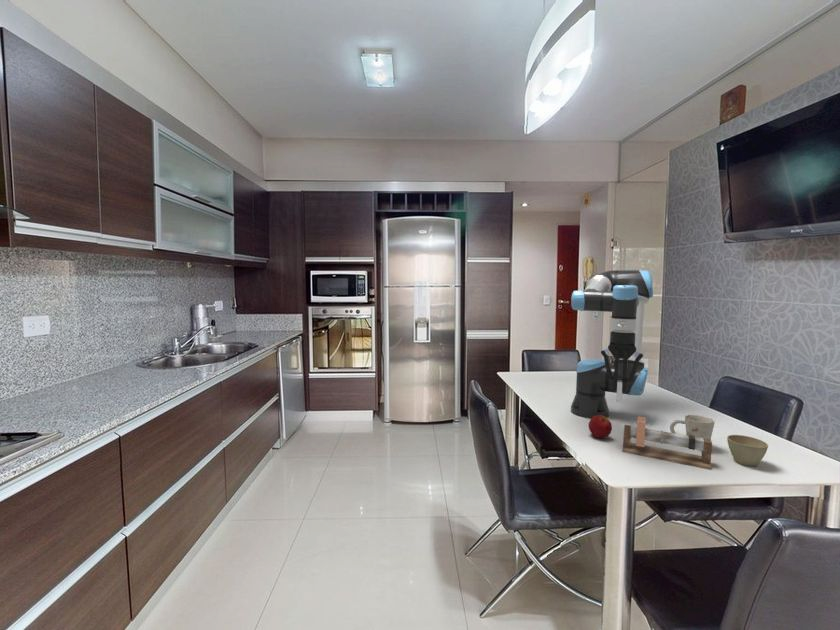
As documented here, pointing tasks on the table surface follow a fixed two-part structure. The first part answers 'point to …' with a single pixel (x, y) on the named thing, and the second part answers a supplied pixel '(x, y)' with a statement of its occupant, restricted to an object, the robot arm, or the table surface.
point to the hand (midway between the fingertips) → (619, 400)
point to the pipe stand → (670, 439)
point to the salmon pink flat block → (640, 431)
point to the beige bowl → (746, 449)
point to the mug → (696, 426)
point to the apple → (600, 426)
